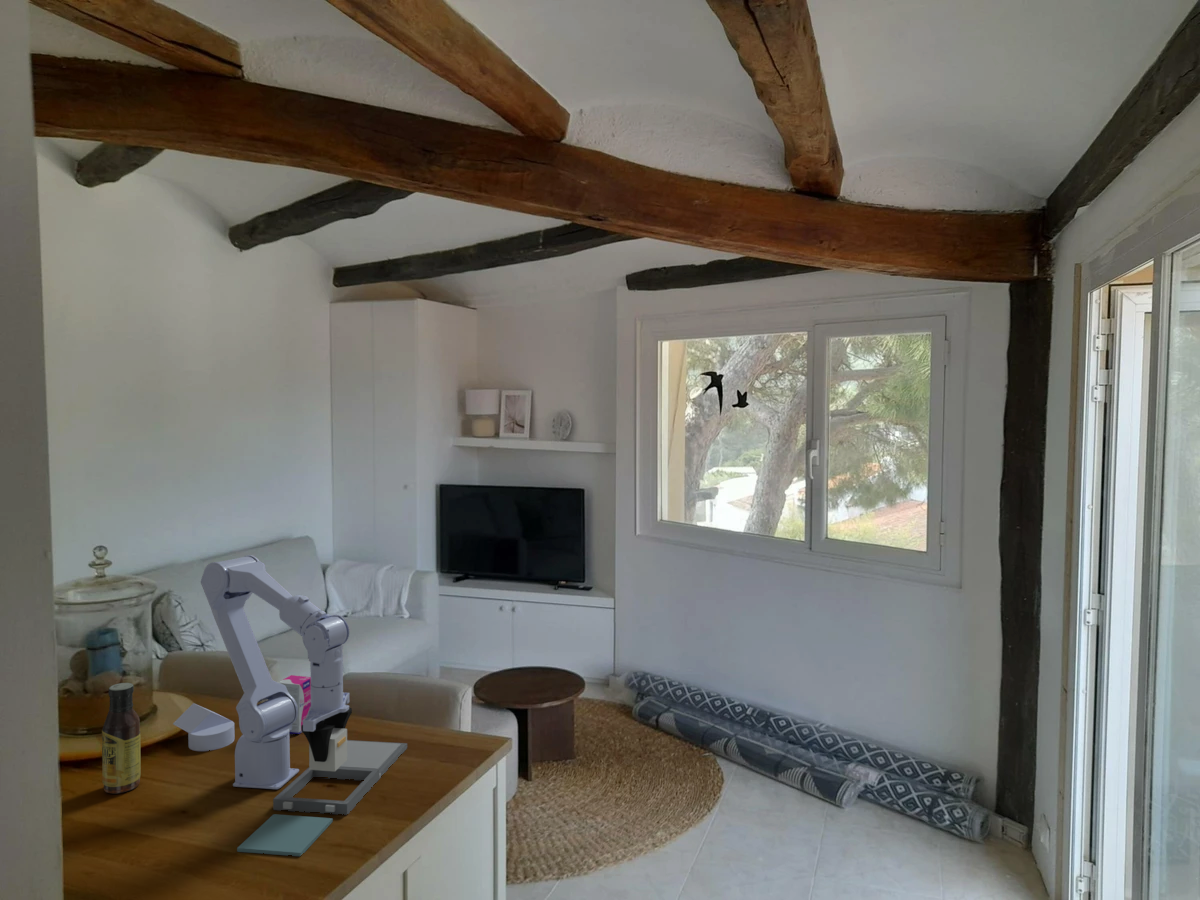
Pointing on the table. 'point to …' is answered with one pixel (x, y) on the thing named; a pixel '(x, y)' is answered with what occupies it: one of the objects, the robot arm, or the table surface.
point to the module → (332, 752)
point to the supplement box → (299, 698)
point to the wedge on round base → (206, 728)
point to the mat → (285, 835)
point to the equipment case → (344, 777)
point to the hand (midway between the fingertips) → (327, 754)
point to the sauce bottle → (121, 742)
